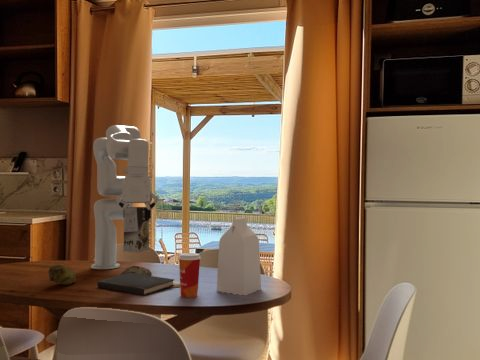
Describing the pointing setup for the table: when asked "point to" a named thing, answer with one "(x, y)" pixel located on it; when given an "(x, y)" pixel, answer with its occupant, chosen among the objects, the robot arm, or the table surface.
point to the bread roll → (137, 270)
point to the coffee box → (136, 230)
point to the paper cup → (189, 274)
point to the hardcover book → (136, 283)
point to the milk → (239, 260)
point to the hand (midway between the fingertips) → (137, 220)
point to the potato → (61, 274)
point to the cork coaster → (176, 285)
